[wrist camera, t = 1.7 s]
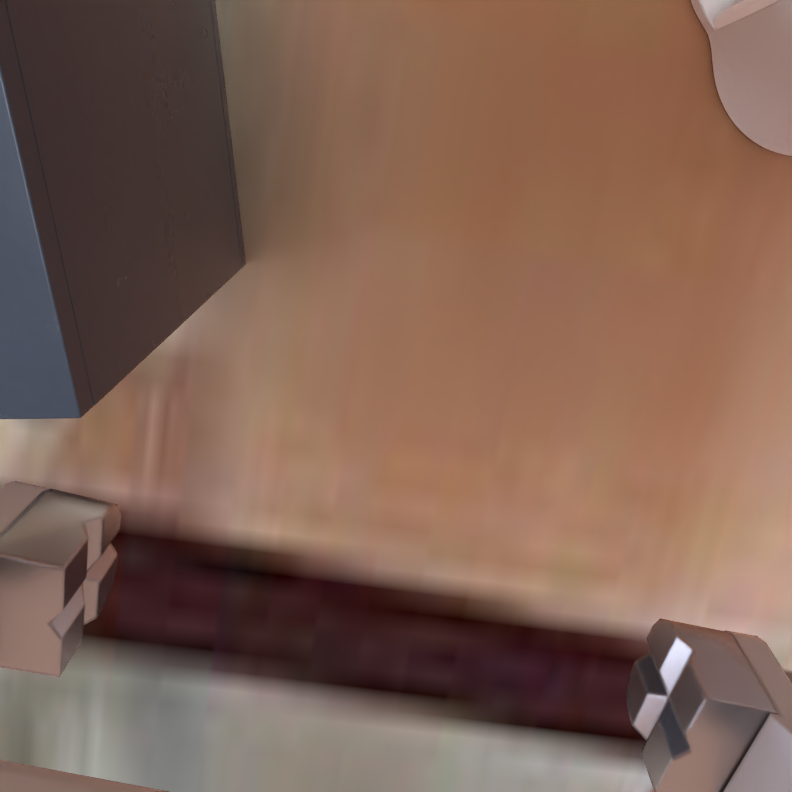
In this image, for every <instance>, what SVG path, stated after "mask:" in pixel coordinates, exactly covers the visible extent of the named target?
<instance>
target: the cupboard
mask: <svg viewBox="0 0 792 792" xmlns="http://www.w3.org/2000/svg"><path fill="white" fill-rule="evenodd" d="M245 264H246V262H245V254H244V245H243V236H242V228H241V219H240V211H239V202H238V194H237V185H236V177H235V168H234V160H233V151H232V143H231V134H230V126H229V117H228V108H227V100H226V91H225V83H224V74H223V66H222V57H221V49H220V40H219V32H218V23H217V15H216V6H215V0H0V419H46V418H81V417H82V416H83V415H84V414H85V413H86V412H88V411H89V410H90V409H91V408H92V407H93V405H96V404H97V403H98V402H99V401H100V400H101V399H102V398H103V397H104V396H105V395H106V394H107V393H108V392H109V391H111V390H112V389H113V388H114V387H115V386H116V385H117V384H118V383H119V382H120V381H121V380H122V379H123V378H124V377H126V376H127V375H128V374H129V373H130V372H131V371H132V370H133V369H134V368H135V367H136V366H137V365H138V364H139V363H141V362H142V361H143V360H144V359H145V358H146V357H147V356H148V355H149V354H150V353H151V352H152V351H153V350H154V349H156V348H157V347H158V346H159V345H160V344H161V343H162V342H163V341H164V340H165V339H166V338H167V337H168V336H169V335H171V334H172V333H173V332H174V331H175V330H176V329H177V328H178V327H179V326H180V325H181V324H182V323H183V322H184V321H186V320H187V319H188V318H189V317H190V316H191V315H192V314H193V313H194V312H195V311H196V310H197V309H198V308H199V307H201V306H202V305H203V304H204V303H205V302H206V301H207V300H208V299H209V298H210V297H211V296H212V295H213V294H214V293H215V292H217V291H218V290H219V289H220V288H221V287H222V286H223V285H224V284H225V283H226V282H227V281H228V280H229V279H230V278H232V277H233V276H234V275H235V274H236V273H237V272H238V271H239V270H240V269H241V268H242V267H243V266H244V265H245Z"/></svg>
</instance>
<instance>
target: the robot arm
mask: <svg viewBox="0 0 792 792" xmlns="http://www.w3.org/2000/svg"><path fill="white" fill-rule="evenodd" d="M691 3H692V6H693V8H694V11H695V13H696V15H697V17H698V18H699V20H700V22H701V24H702V26H703V27H704V29H705V31H706V32H707V34H708V36H709V40H710V45H711V53H712V64H713V73H714V79H715V84H716V88H717V91H718V94H719V97H720V100H721V102H722V104H723V106H724V108H725V110H726V112H727V114H728V115H729V117H730V118H731V120H732V121H733V122H734V124H735V125H736V126H737V127H738V128H739V130H740V131H741V132H742V133H744V134H745V135H746V136H747V137H748V138H749V139H751V140H752V141H754V142H755V143H757V144H758V145H760V146H762V147H764V148H766V149H768V150H770V151H773V152H776V153H779V154H783V155H787V156H792V0H691ZM120 515H121V510H120V508H119V506H118V505H117V504H115V503H110V502H106V501H102V500H97V499H93V498H89V497H84V496H80V495H76V494H71V493H67V492H63V491H59V490H54V489H47V488H45V487H40V486H36V485H31V484H26V483H22V482H17V481H15V482H11V483H7V484H6V485H4V486H3V487H2V488H1V489H0V667H3V668H9V669H15V670H21V671H27V672H33V673H39V674H45V675H51V676H57V677H60V675H61V674H62V672H63V671H64V669H65V668H66V666H67V664H68V663H69V661H70V660H71V658H72V657H73V655H74V653H75V652H76V650H77V649H78V647H79V646H80V644H81V642H82V640H83V626H84V624H86V623H88V622H90V621H92V620H94V619H96V618H97V617H98V615H99V613H100V612H101V610H102V608H103V607H104V605H105V603H106V601H107V598H108V596H109V593H110V591H111V588H112V586H113V582H114V578H115V573H116V569H117V558H118V554H117V552H116V551H115V549H114V548H113V546H112V544H111V541H112V540H113V538H114V537H115V536H116V534H117V533H118V531H119V530H120ZM647 641H648V644H649V647H650V650H651V652H649V653H648V654H646V655H645V656H643V657H641V658H640V659H638V660H636V662H635V664H634V666H633V669H632V671H631V674H630V676H629V679H628V687H627V696H626V697H627V706H628V713H629V716H630V719H631V722H632V726H633V727H634V728H635V729H636V730H637V731H638V732H639V733H640V734H641V735H642V736H643V737H644V738H645V739H646V740H647V741H646V743H645V745H644V747H643V749H642V751H641V753H642V756H643V759H644V762H645V765H646V768H647V771H648V774H649V777H650V780H651V783H652V786H653V789H654V792H792V683H791V682H790V680H789V678H788V677H787V675H786V674H785V672H784V670H783V669H782V667H781V666H780V664H779V662H778V661H777V659H776V658H775V656H774V654H773V653H772V651H771V650H770V648H769V647H768V645H767V643H766V642H764V641H763V640H762V639H760V638H759V637H758V636H753V635H748V634H742V633H736V632H731V631H720V630H715V629H710V628H705V627H700V626H695V625H690V624H685V623H680V622H675V621H670V620H665V619H659V620H658V621H657V622H656V623H655V624H654V625H653V627H652V629H651V631H650V633H649V635H648V637H647ZM0 792H168V791H163V790H158V789H152V788H147V787H142V786H136V785H131V784H126V783H120V782H115V781H110V780H105V779H99V778H94V777H89V776H83V775H78V774H73V773H67V772H62V771H57V770H51V769H46V768H41V767H35V766H30V765H25V764H19V763H14V762H9V761H4V760H0Z"/></svg>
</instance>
